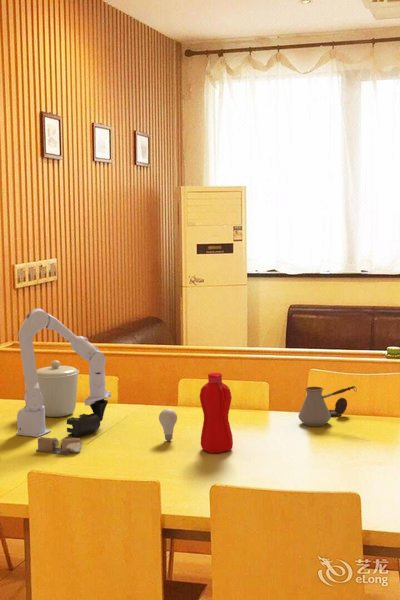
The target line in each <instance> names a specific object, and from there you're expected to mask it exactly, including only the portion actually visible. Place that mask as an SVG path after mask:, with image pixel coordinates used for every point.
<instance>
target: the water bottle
mask: <svg viewBox="0 0 400 600" xmlns="http://www.w3.org/2000/svg"><path fill="white" fill-rule="evenodd" d="M207 378H208V379H207V380H208V382H207V383H205V384H204V385H203V386H202V387H201V388H200V393H199V402H200V405H201V409H202V414H203V422H202V428H201V434H200V446H201V448H202V450H203V451H206V452H207V453H210V454H219V453H225V452H230V451H231V450H232V449H233V446H234V441H233V433H232V428H231V426H230V425H231V424H230V422H229V412H230V409H231V403H232V398H233V397H232V391H231V389H230V387H229V386H228V385H227V384H226V383H224V382H223V374H222V373H221V372H209V373H208V377H207Z"/></svg>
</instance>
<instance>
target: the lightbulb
mask: <svg viewBox="0 0 400 600" xmlns="http://www.w3.org/2000/svg"><path fill="white" fill-rule="evenodd" d="M158 420H159V423H160V425H161V428H162V429H163V434H164V440H165V441H167V442H171V440H173V435H174V434H173V433H174V430H175V429H174V428H175V426H176V424H177V421H178V414H177V413H176V411H175V410H173V409H172V408H164V409H163V410H162V411H160V413H159V415H158Z"/></svg>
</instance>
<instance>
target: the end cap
mask: <svg viewBox="0 0 400 600" xmlns="http://www.w3.org/2000/svg"><path fill="white" fill-rule="evenodd" d="M66 425H69V426H71V427H66V432H67V437H69V438H80V437H83V436H86V435H89V434H92V433H95V432H97V430H98V429H100V427H101V421H100V419H99V417H98V415H97V414H95V413H93V412H92V413H90V414H85V413H82V414H79V415H78V417H74V416H72V417H69V418H67V419H66Z"/></svg>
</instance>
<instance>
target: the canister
mask: <svg viewBox="0 0 400 600" xmlns="http://www.w3.org/2000/svg"><path fill="white" fill-rule="evenodd" d="M36 370H37V377H38V384H39V389H40V391H41V394H42V396H43V399H44V404H43V406H44V407H45V417H49V418H60V417H66V416H69V415H72V414H73V413H74V412H75V409H76V405H77V395H78V393H77V392H78V380H79V378H78V377H79V374H80V370H79V369H78V368H76V367H74V366H70V365H61V362H60V361H59V360H58V359H57V360H52V361H51V362H50V366H46V367H40V368H38V369H36Z"/></svg>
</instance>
